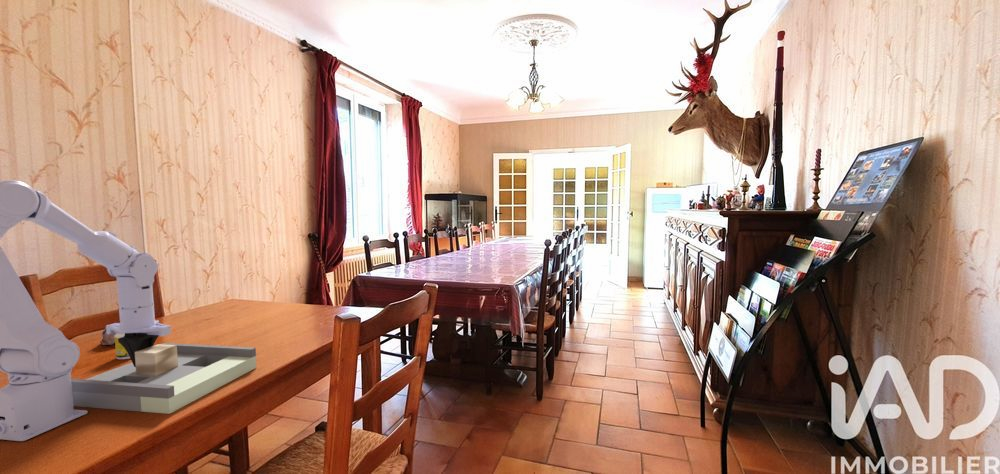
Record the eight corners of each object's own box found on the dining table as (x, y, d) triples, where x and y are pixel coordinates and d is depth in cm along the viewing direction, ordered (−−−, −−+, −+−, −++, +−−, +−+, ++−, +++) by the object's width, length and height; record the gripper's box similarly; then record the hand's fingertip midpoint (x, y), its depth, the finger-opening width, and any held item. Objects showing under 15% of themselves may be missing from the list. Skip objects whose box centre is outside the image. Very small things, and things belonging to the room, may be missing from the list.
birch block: (156, 375, 85) (154, 353, 85) (136, 374, 86) (134, 352, 86) (178, 366, 90) (176, 345, 90) (159, 365, 91) (157, 344, 91)
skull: (102, 339, 119) (100, 319, 118) (136, 334, 124) (135, 314, 124) (98, 350, 110) (97, 328, 110) (136, 343, 115) (134, 323, 115)
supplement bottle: (125, 360, 102) (123, 328, 101) (111, 359, 103) (108, 327, 102) (145, 353, 106) (143, 323, 106) (131, 352, 107) (129, 322, 107)
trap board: (169, 413, 75) (167, 388, 75) (57, 404, 79) (55, 380, 79) (256, 367, 97) (255, 347, 96) (165, 362, 101) (163, 342, 100)
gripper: (182, 302, 90) (186, 360, 92) (128, 300, 93) (132, 357, 94) (150, 310, 84) (155, 372, 85) (93, 308, 86) (98, 369, 87)
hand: (141, 365), depth 89 cm, fingers closed
